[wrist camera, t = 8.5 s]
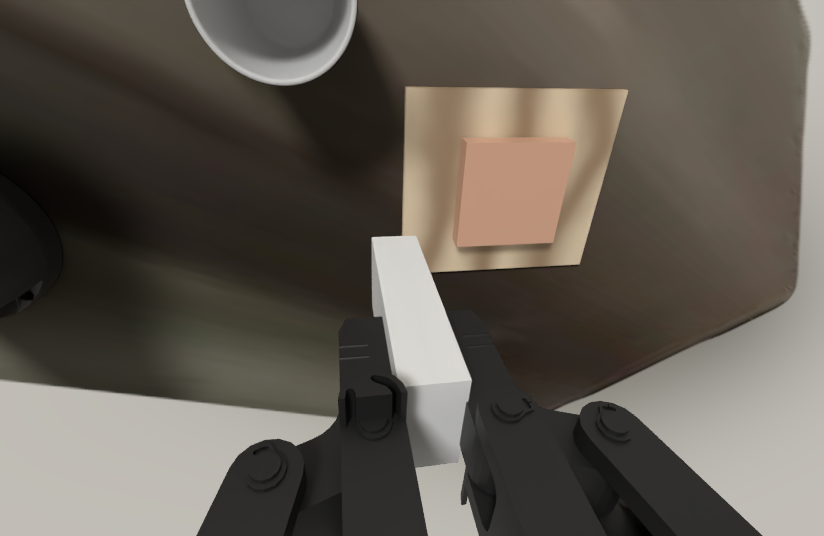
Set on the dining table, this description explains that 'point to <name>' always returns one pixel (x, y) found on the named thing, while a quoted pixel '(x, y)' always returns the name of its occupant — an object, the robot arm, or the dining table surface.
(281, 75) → the mug
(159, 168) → the dining table surface
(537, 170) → the tile
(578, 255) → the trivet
